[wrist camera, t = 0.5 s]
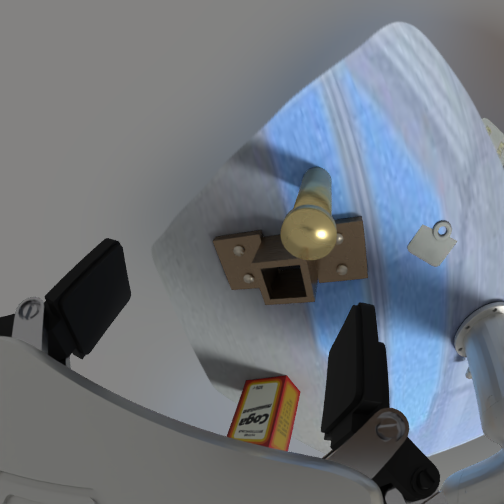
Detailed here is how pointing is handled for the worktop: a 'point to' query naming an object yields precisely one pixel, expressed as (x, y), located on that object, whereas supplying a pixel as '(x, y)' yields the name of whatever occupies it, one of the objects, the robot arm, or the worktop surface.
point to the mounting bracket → (429, 240)
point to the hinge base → (291, 263)
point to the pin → (311, 218)
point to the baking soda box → (266, 412)
